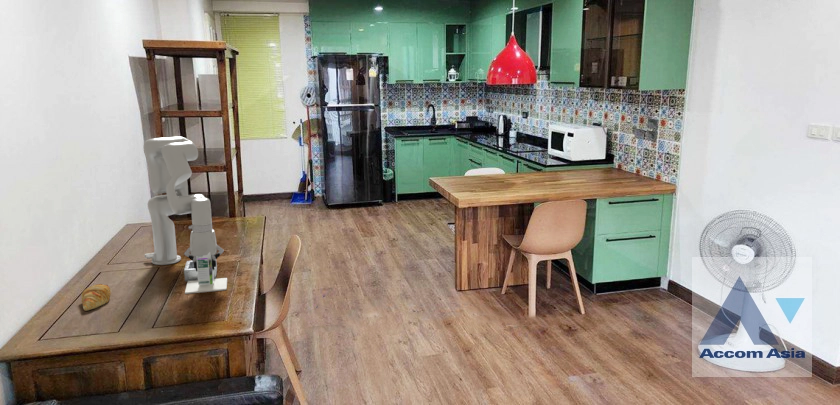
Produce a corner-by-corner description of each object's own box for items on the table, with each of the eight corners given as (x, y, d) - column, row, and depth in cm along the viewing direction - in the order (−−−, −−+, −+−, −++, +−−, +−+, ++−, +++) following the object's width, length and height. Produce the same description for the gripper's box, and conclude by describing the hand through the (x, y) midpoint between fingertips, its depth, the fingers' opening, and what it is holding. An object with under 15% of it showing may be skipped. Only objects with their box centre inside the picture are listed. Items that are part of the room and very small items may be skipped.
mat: (184, 293, 227) (184, 292, 227) (187, 282, 239) (187, 281, 239) (226, 290, 232) (226, 288, 231) (227, 279, 244) (227, 277, 243)
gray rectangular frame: (185, 281, 240) (184, 270, 239) (188, 266, 258) (188, 256, 257) (215, 278, 244) (215, 267, 243) (217, 264, 261) (216, 254, 260)
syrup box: (198, 285, 232) (195, 252, 228) (200, 280, 237) (197, 247, 234) (212, 284, 233) (210, 251, 230) (214, 279, 238) (212, 247, 235)
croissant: (95, 321, 209) (104, 303, 208) (67, 311, 206) (76, 292, 205) (114, 297, 229) (122, 281, 228) (88, 288, 226) (96, 271, 225)
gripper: (178, 231, 223) (182, 274, 228) (224, 229, 229) (226, 270, 233) (180, 226, 230) (184, 268, 235) (224, 224, 235) (227, 264, 240)
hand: (205, 268), depth 234 cm, fingers closed on syrup box, 5 cm apart
